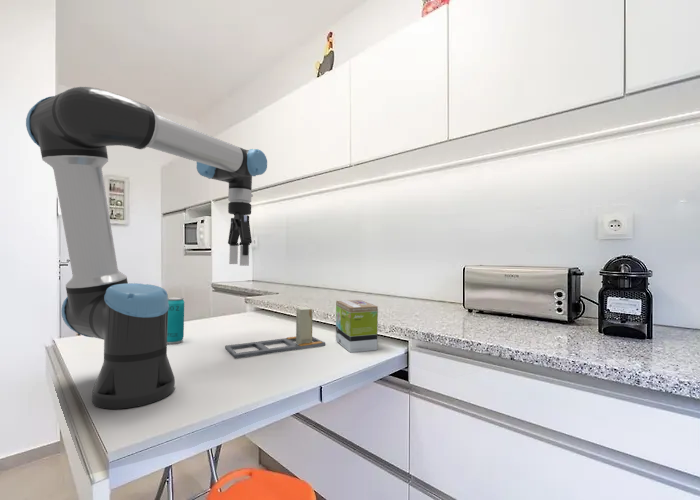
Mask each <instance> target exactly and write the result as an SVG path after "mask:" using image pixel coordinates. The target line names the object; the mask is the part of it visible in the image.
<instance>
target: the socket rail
mask: <svg viewBox="0 0 700 500" xmlns="http://www.w3.org/2000/svg"><path fill="white" fill-rule="evenodd" d="M278 344H284V345H286V346H279V347H272V348H271V347H270V348H269V347H267V346H269V345H278ZM325 346H326V342H325V341H323V340H321V339H318V338H316V337H314V336H312V342H310V343H303V344H298V343H297V342H296V335H295V336H289V337H283V338H276V339H268V340H261V341H253V342H252V341H251V342H245V343H237V344H229V345H228V344H227V345H224V349H225V350H226V351H227V353H229V355H230V356H232V357H233V359H235V360H236V359H241V358H249V357H250V358H251V357H255V356H263V355H269V354H276V353H278V354H279V353H283V352H291V351H297V350H303V349H312V348H317V347H318V348H319V347H325ZM254 347H255V348H256V350H250V351H243V352H241V351H240V352H236V351H235V350H239V349H248V348H254Z"/></svg>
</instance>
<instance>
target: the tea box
mask: <svg viewBox="0 0 700 500" xmlns="http://www.w3.org/2000/svg"><path fill="white" fill-rule="evenodd" d="M378 307H379V306H378V305H375V304H372V303H370V302H367V301H365V300H363V299H347V300H336V301H335V342H337V343H339V344H340V345H341V347H343V348H344V349H345V350H347V351H348V352H349V353H361V352H373V351H377V350H378V330H379V329H378V328H379V327H378V323H379V322H378V321H379V318H378V315H379V309H378Z"/></svg>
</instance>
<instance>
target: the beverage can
mask: <svg viewBox="0 0 700 500" xmlns="http://www.w3.org/2000/svg"><path fill="white" fill-rule="evenodd" d="M168 304H169V309H168V326H167V345H176V344H181V343H182V341H183V339H184V333H185V330H184V329H185V301H184V297H183V296H181V297H180V296H175V297H173V296H172V297H168Z"/></svg>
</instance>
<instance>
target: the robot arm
mask: <svg viewBox="0 0 700 500" xmlns="http://www.w3.org/2000/svg"><path fill="white" fill-rule="evenodd" d="M25 127H26V130H27V133H28V136H29V137H30V139H31V140H32V141H33V143H35V144H36V145H37V146H38V147H39V149H40V155H41V160H42V161H43V162H45V163H46V164H47V165H49V166H50V167H51V168H52V170H53V173H54V179H55V187H56V190H57V191H56V192H57V197H58V200H59V201H58V202H59V206H60V214H61V220H62V225H63V229H64V235H65V239H66V246H67V252H68V257H69V264H70V269H71V273H72V274H71V275H72V277H71V278H70V280H69V281H68V282H66V284H65V290H66V298H65V299H64V300H63V303H62V304H61V305H62V306H61V311H60V312H61V317H62V320H63V322H64V324H65V325H66V326H67V327H68V328H69V329H70V330H71V331H73V332H75V333H77V334H78V335H81V336H83V337H88V338H95V339H99V340H104V343H103V363H102V365H101V368H100V370H99V373H98V375H97V378H96V381H95V383H94V385H93V389H92V392H91V393H92V395H91V403H92V405H94V406H95V407H97V408H99V409H100V408H101V409H110V410H111V409H113V410H114V409H115V410H118V409H119V410H121V409H128V408H134V407H140V406H146V405H149V404H152V403H155V402H157V401H160V400H162V399H164V398H166V397H168V396H169V395H171V394H172V393H173V392H174V390H175V389H176V388H175V383H176V381H175V375H174V372H173V369H172V367H171V363H170V361H169V357H168V354H167V351H168V348H167V347H168V344H167V326H168V309H169V304H168V298H169V296H168V292H167V290H166V289H165V288H163V287H162V286H159V285H154V284H150V283H149V284H148V283H147V284H143V283H135V282H134V283H128V282H129V281H128V276H127V275H125V273H123V272H121V271H119V269H118V261H117V256H116V250H115V244H114V238H113V230H112V223H111V217H110V213H109V212H110V211H109V205H108V200H107V192H106V187H105V181H104V180H105V179H104V174H103V173H104V172H103V167H104V166H105V165H106V164H107V163H108V162H109V156H108V149H107V147H108V146H109V147H111V146H123V147H130V148H133V149H137V150H145V149H146V148H149V149H153V150H156V151H159V152H163V153H167V154H170V155H173V156H176V157H180V158H183V159H187V160H189V161H193V162H196V170H197V173H198V175H200V176H201V177H204V178H207V179H209V180H210V179H211V180H215V181H220V182H224V183H228V198H227V199H228V205H227V212H228V214H229V215H233V217H231V218H230V226H229V227H230V228H229V233H228V239H227V244H228V245H229V254H228V257H229V258H228V259H229V261H228V263H229V265H238V260H239V266H241V267H242V266H250V265H249V264H250V245H251V244H252V242H253V241H252V233H251V226H250V215H251V214H252V198H253V197H254V194H252V192H253V191H252V190H253V189H252V188H253V187H252V186H253V185H252V184H253V177H256V176H260V175H263V174H265V172H266V171H267V169H268V159H267V155H266V154H265V153H264V152H263V151H262V150H261V149H258V148H257V149H256V148H254V149H253V148H250V149H244V148H242V147H239V146H237V145H235V144H232V143H229V142H226V141H224V140H222V139H220V138H217V137H214V136H212V135H209V134H207V133H205V132H202V131H199V130H197V129H194V128H192V127H189V126H187V125H184V124H182V123H179V122H178V121H177V122H176V121H174V120H172V119H170V118H167V117H165V116H162V115H159V114H156V112H155V110H154V109H153V108H152V107H151V106H150V105H147V104H144V103H142V102H139V101H137V100H136V99H135V100H134V99H132V98H129V97H126V96H124V95H121V94H118V93H115V92H111V91H108V90H105V89H101V88H97V87H91V86H77V87H75V86H74V87H72V88H69V89H66V90H65V91H63V92H60V93H58V94H55V95H52V96H48V97H45V98H42V99H40V100H39V101H38V102H36V103H35V104H33V106H32V107H31V108H29V110H28V113H27V115H26V118H25ZM239 239H240V241H239ZM238 253H239V254H238ZM238 255H239V259H238Z"/></svg>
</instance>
